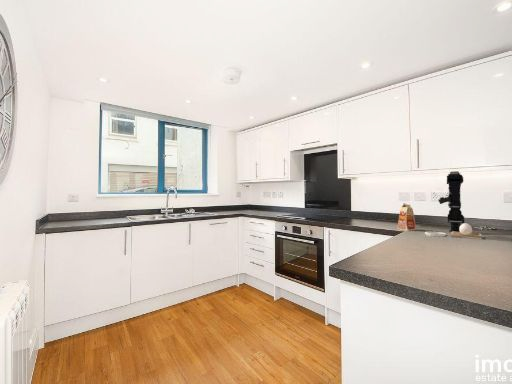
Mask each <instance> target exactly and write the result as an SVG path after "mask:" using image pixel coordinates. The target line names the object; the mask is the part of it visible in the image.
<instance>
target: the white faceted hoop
mask: <svg viewBox="0 0 512 384" xmlns="http://www.w3.org/2000/svg"><path fill="white" fill-rule="evenodd" d="M425 234H426V235H425ZM424 235H425V236H430V237H432V236H433V237H446V233H445V232H440V231H425V232H424Z"/></svg>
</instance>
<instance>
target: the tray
mask: <svg viewBox="0 0 512 384" xmlns="http://www.w3.org/2000/svg"><path fill="white" fill-rule="evenodd" d="M450 237H451V238H462V239H474V240H482V233H480V232H472V233H471V234H470V235H466V234H461V233H460V232H454V231H452V232H450Z"/></svg>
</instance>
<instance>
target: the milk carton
mask: <svg viewBox="0 0 512 384" xmlns="http://www.w3.org/2000/svg"><path fill="white" fill-rule="evenodd" d="M402 203H403V204H402V206H400V211H399V215H398V222H397V227H396V228H397V230H401V231H410V230H411V231H416V230H417V228H416V227H417V226H416V220H415V214H414V208H413V207H412V206H411V204H407V203H406V202H405V203H404V202H402Z"/></svg>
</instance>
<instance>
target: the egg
mask: <svg viewBox="0 0 512 384" xmlns="http://www.w3.org/2000/svg"><path fill="white" fill-rule="evenodd" d="M459 231H460V233H461V234H466V235H470V234H471V233H473V227H472V226H471V225H470V224H469V223H468V222H464V223H461V226H460V228H459Z"/></svg>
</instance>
